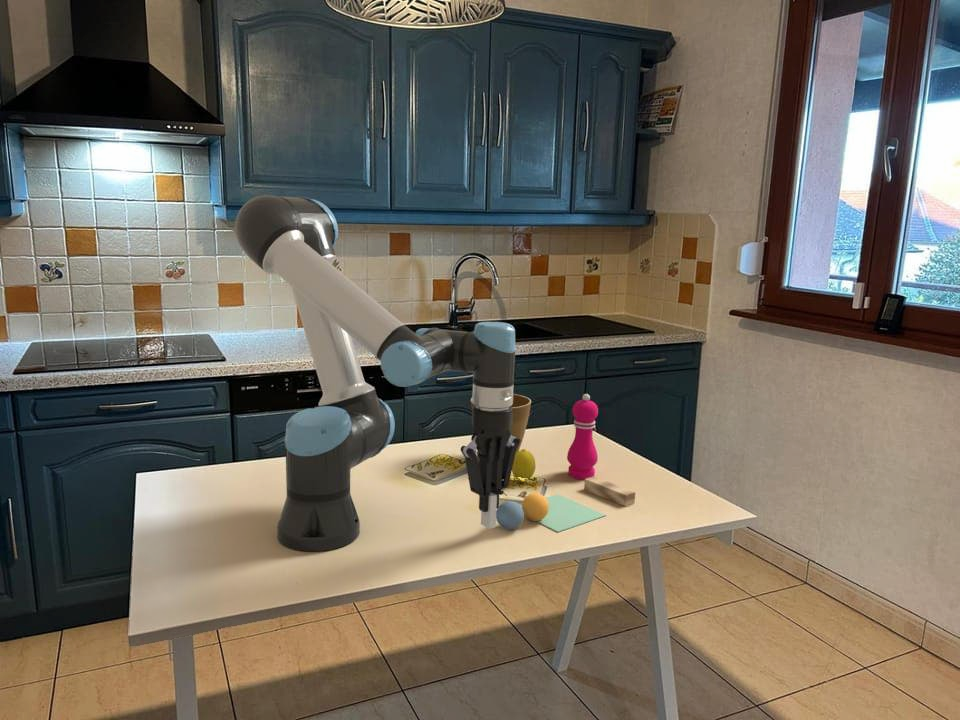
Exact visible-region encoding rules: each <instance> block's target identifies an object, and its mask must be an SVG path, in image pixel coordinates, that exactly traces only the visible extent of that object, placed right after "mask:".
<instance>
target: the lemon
mask: <svg viewBox="0 0 960 720" xmlns="http://www.w3.org/2000/svg"><path fill="white" fill-rule="evenodd" d="M535 471H536V460H535V457H534V454H532V452H531V451H529V450H527V449H526V448H522V449H521V450H520V449H519V451H518V452H517V453H515V458H514V462H513V467H512V471H511V474H512V475H513V477H515V476H516V477H521V478H529V479H531V478H532V477H533V476H534V474H535ZM516 477H515V478H516Z"/></svg>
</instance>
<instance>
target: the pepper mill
mask: <svg viewBox="0 0 960 720" xmlns="http://www.w3.org/2000/svg"><path fill="white" fill-rule="evenodd" d="M572 415H573V417H574V420H573V427H574V429H575V434H574V439H573V441H572V442H571V445H570V446H569V448H568V452H567V455H566V457H567V458H566V460H567V461H568V464H569V466H568V471H567V474H568V476H569V477H570V478H573V479H577V480H585V479H587V478H590V477H593V476H594V477H595V474H596V473H595V472H596V469H595V467H594V466H595V465H596V464H597V463H598V452H597V448H596V446H595V443H594V440H593V431H594V429H595V428H596V425H595V424H596V421H595V419H596V418H597V417H598V416H599V408H598V405H597V404H596V403H595V402H594V401H592V400H591V396H590V395H589V394H588V393H584V394H583V395H582V399H581V400H578V401H577V402H575V403H574V405H573V407H572Z"/></svg>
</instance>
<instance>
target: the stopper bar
mask: <svg viewBox="0 0 960 720" xmlns="http://www.w3.org/2000/svg"><path fill="white" fill-rule="evenodd" d="M583 487H584V488H583V489H584V491H587V492H590V493H591V494H595V496H596V495H597V496H599V497H602V498H604V499H606V500H609V501H612V502H614V503H616V504H619V505H622V506H623V507H628V506H631V505H635V499H636V492H635V491H632V490H630V489H627V488H624V487H622V486H619V485H617V484H614V483H612V482H610V481H607V480H604V479H602V478H599V477H596V476H595V475H594V476H593V477H590V478H587V479H584V485H583Z"/></svg>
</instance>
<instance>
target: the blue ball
mask: <svg viewBox="0 0 960 720" xmlns="http://www.w3.org/2000/svg"><path fill="white" fill-rule="evenodd" d="M520 505H521V504H519V503H518V502H516V501H513V500H505V501H503V502H502V503H499V507H498V508H497V509H496V523H498V525H499V527H501V528H503V529H506V530H515V529H517V528H518V527H520V526H521V524H522V523H523V522H524V518H525V516H524V512H523V509H522V507H521V506H520Z"/></svg>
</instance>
